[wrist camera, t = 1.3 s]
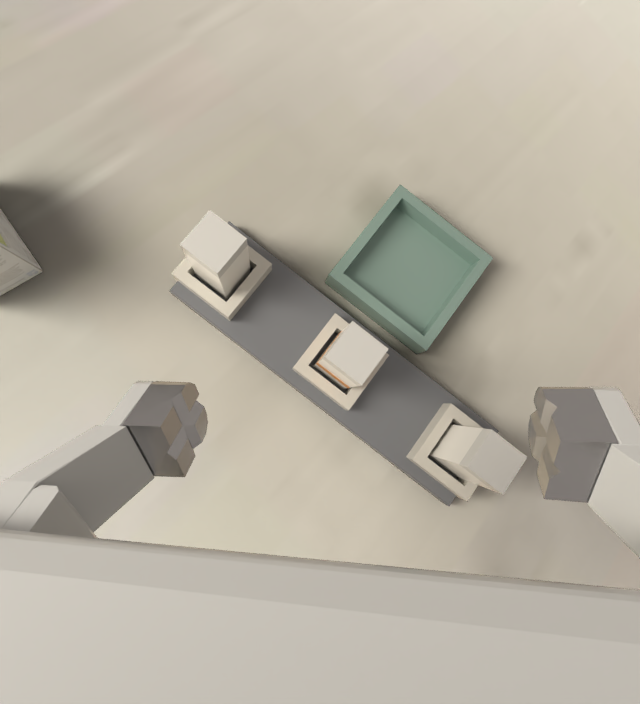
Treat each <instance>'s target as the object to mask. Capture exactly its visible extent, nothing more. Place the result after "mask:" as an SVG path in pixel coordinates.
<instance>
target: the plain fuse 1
mask: <svg viewBox="0 0 640 704" xmlns="http://www.w3.org/2000/svg"><path fill="white" fill-rule="evenodd" d="M180 246H181V248H182V250H183V251H184V253H185V255H186V257H187V259H188V261H189V262H190V264H191V266H192V268H193V270H194V272H195V273H196V275H197V277H198V278H199V279H200V280H202V281H203V282H204V283H206V284H207V285H208V286H210V287H211V288H212V289H213V290H215V291H216V292H217V293H219V294H220V295H221V296H222V297H224V298H225V299H226V300H228V299H229V298H230V297H231V295H232V294H233V293H234V292H235V291H236V289H237V288H238V287H239V286H240V285H241V283H242V282H243V281H244V280H245V279H246V277H247V276H248V275H249V274H250V273H251V269H250V261H249V252H248V244H247V238H246V237H244V236H243V235H242V234H240V233H239V232H238V231H237V230H235V229H234V228H233V227H231V226H230V225H229V224H228V223H226V222H225V221H224V220H222V219H221V218H220V217H219V216H217V215H216V214H215V213H213V212H212V211H211V210H209V211H208V212H207V214H206V215H205V216H204V217H203V218H202V219H201V220H200V222H199V223H198V224H197V225H196V226H195V227H194V228H193V230H192V231H191V232H190V233H189V234H188V235H187V236H186V238H185V239H184V240H183V241H182V242H181V243H180Z"/></svg>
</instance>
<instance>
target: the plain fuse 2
mask: <svg viewBox="0 0 640 704" xmlns="http://www.w3.org/2000/svg"><path fill="white" fill-rule="evenodd" d="M428 456H430V457H431V458H432V459H433V460H435V461H436V462H437V463H439V464H440V465H441V466H442V467H444V468H445V469H446V470H448V471H449V472H450V473H452V474H453V475H454V476H456V477H459V478H461V479H464V480H466V481H469V482H471V483H474V484H476V485H479V486H482V487H484V488H487V489H489V490H492V491H494V492H497V493H500V494H502V495H504V493H505V492H506V490H507V489H508V487H509V485H510V484H511V482H512V481H513V479H514V478H515V476H516V474H517V473H518V471H519V470H520V468H521V467H522V465H523V463H524V462H525V460H526V459H527V456H526V455H524V454H523V453H522V452H520V451H519V450H518V449H517V448H515V447H514V446H513V445H511V444H510V443H509V442H508V441H506V440H505V439H504V438H502V437H501V436H500V435H499V434H497V433H496V432H495V431H493V430H492V429H484V428H476V427H467V426H459V425H451V424H450V425H449V426H448V427H447V429H446V430H445V432H444V433H443V435H442V436H441V438H440V439H439V441H438V442H437V444H436V445H435V447H434V448H433V449H432V451H431V452H430V454H429V455H428Z"/></svg>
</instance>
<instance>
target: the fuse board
mask: <svg viewBox="0 0 640 704" xmlns="http://www.w3.org/2000/svg"><path fill="white" fill-rule="evenodd" d="M228 224H229V225H230V226H231V227H233V228H234V229H235V230H237V231H238V232H239V233H240V234H242V235H243V236H244V237H246V238H247V244H248V252H249V261H250V269H251V273H250V274H249V275H248V276H247V277H246V279H245V280H244V281H243V282H242V283H241V285H240V286H239V287H238V288H237V289H236V291H235V292H234V293H233V294H232V295H231V297H230V298H229V299H228V300H226V299H225V298H224V297H222V296H221V295H220V294H219V293H217V292H216V291H215V290H213V289H212V288H211V287H210V286H208V285H207V284H206V283H204V282H203V281H202V280H200V279H199V278H198V277H197V275H196V273H195V272H194V270H193V268H192V266H191V264H190V262H189V261H188V259H187V257H185V258H184V259H183V260H182V262H181V263H180V264H179V265H178V266H177V267H176V269H175V270H174V271H173V272H172V273H171V274H172V275H173V276H174V278H175V279H176V280H177V283H176V284H175V285H174V286H173V287H172V288H171V289H170V292H171V294H172V295H173V296H175V297H176V298H177V299H179V300H180V301H181V302H183V303H184V304H185V305H186V306H188V307H189V308H190V309H192V310H193V311H194V312H196V313H197V314H198V315H199V316H201V317H202V318H203V319H205V320H206V321H207V322H209V323H210V324H211V325H212V326H214V327H215V328H216V329H218V330H219V331H220V332H222V333H223V334H224V335H225V336H227V337H228V338H229V339H231V340H232V341H233V342H235V343H236V344H237V345H238V346H240V347H241V348H242V349H244V350H245V351H246V352H248V353H249V354H250V355H251V356H253V357H254V358H255V359H257V360H258V361H259V362H260V363H262V364H263V365H264V366H266V367H267V368H268V369H270V370H271V371H272V372H273V373H275V374H276V375H277V376H279V377H280V378H281V379H283V380H284V381H285V382H286V383H288V384H289V385H290V386H292V387H293V388H294V389H296V390H297V391H298V392H299V393H301V394H302V395H303V396H305V397H306V398H307V399H309V400H310V401H311V402H312V403H314V404H315V405H316V406H318V407H319V408H320V409H322V410H323V411H324V412H325V413H327V414H328V415H329V416H331V417H332V418H333V419H335V420H336V421H337V422H338V423H340V424H341V425H342V426H344V427H345V428H346V429H348V430H349V431H350V432H351V433H353V434H354V435H355V436H357V437H358V438H359V439H360V440H362V441H363V442H364V443H366V444H367V445H368V446H370V447H371V448H372V449H373V450H375V451H376V452H377V453H379V454H380V455H381V456H383V457H384V458H385V459H386V460H388V461H389V462H390V463H392V464H393V465H394V466H396V467H397V468H398V469H399V470H401V471H402V472H403V473H405V474H406V475H407V476H409V477H410V478H411V479H412V480H414V481H415V482H416V483H418V484H419V485H420V486H422V487H423V488H424V489H425V490H427V491H428V492H429V493H431V494H432V495H433V496H435V497H436V498H437V499H438V500H440V501H441V502H442V503H444V504H446V505H447V506H450V504H451V503H452V501H453V500H454V498H455V497H456V496H457V497H459V498H461V499H463V500H465V501H467V502H468V500H469V499H470V497H471V496H472V494H473V493H474V491H475V489H476V488H477V486H478V485H476V484H474V483H471V482H469V481H466V480H464V479H461V478H459V477H456V476H454V475H453V474H452V473H450V472H449V471H448V470H446V469H445V468H444V467H442V466H441V465H440V464H439V463H437V462H436V461H435V460H433V459H432V458H431V457H430V456H428V455H429V454H430V452H431V451H432V449H433V448H434V447H435V445H436V444H437V442H438V441H439V439H440V438H441V436H442V435H443V433H444V432H445V430H446V429H447V427H448V426H449V425H450V424H451V425H459V426H467V427H476V428H484V429H492V430H493V431H495V432H496V433H498V432H499V431H498V430H496V429H495V428H494V427H493V426H491V425H490V424H489V423H487V422H486V421H485V420H484V419H482V418H481V417H480V416H478V415H477V414H476V413H475V412H473V411H472V410H471V409H469V408H468V407H467V406H466V405H464V404H463V403H462V402H460V401H459V400H458V399H457V398H455V397H454V396H453V395H451V394H450V393H449V392H448V391H446V390H445V389H444V388H443V387H441V386H440V385H439V384H437V383H436V382H435V381H434V380H432V379H431V378H430V377H428V376H427V375H426V374H425V373H423V372H422V371H421V370H419V369H418V368H417V367H416V366H414V365H413V364H412V363H410V362H409V361H408V360H407V359H405V358H404V357H403V356H401V355H400V354H399V353H398V352H396V351H395V350H394V349H392V348H391V347H390V346H389V345H387V344H386V343H385V342H383V341H382V340H381V339H380V338H378V337H377V336H376V335H374V334H373V333H372V332H371V331H369V330H368V329H367V328H365V327H364V326H363V325H362V324H360V323H359V322H358V321H356V320H355V319H354V318H353V317H351V316H350V315H349V314H348V313H346V312H345V311H344V310H342V309H341V308H340V307H339V306H337V305H336V304H335V303H333V302H332V301H331V300H330V299H328V298H327V297H326V296H324V295H323V294H322V293H321V292H319V291H318V290H317V289H315V288H314V287H313V286H312V285H310V284H309V283H308V282H306V281H305V280H304V279H303V278H301V277H300V276H299V275H297V274H296V273H295V272H294V271H292V270H291V269H290V268H288V267H287V266H286V265H285V264H283V263H282V262H281V261H279V260H278V259H277V258H276V257H274V256H273V255H272V254H270V253H269V252H268V251H267V250H265V249H264V248H263V247H261V246H260V245H259V244H258V243H256V242H255V241H254V240H252V239H251V238H250V237H249V236H247V235H246V234H245V233H244V232H242V231H241V230H240V229H238V228H237V227H236V226H235V225H233V224H232V223H231V222H228ZM352 321H353V322H355V323H356V324H357V325H359V326H360V327H361V328H362V329H364V330H365V331H366V332H368V333H369V334H370V335H371V336H373V337H374V338H375V339H377V340H378V341H379V342H380V343H382V344H383V345H384V346H386V347H387V348H388V351H387V352H386V353H385V355H384V356H383V357H382V359H381V360H380V362H379V363H378V364H377V366H376V367H375V368H374V370H373V371H372V372H371V374H370V375H369V376H368V378H367V379H366V381H365V382H364V383H363V385H362V386H356V387H350V388H345V389H342V388H340V387H339V386H338V385H336V384H335V383H334V382H332V381H331V380H330V379H329V378H327V377H326V376H325V375H323V374H322V373H321V372H320V371H318V370H317V369H316V368H314V367H313V365H314V364H315V363H316V361H317V360H318V359H319V358H320V356H321V355H322V354H323V352H324V351H325V350H326V348H327V347H328V346H329V344H330V343H331V342H332V341H333V339H334V338H335V337H336V336H337V335H338V334H339V333H340V332H341V331H342V330H343V329H344V328H345V327H347V326H348V325H349V324H350V323H351V322H352Z"/></svg>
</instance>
